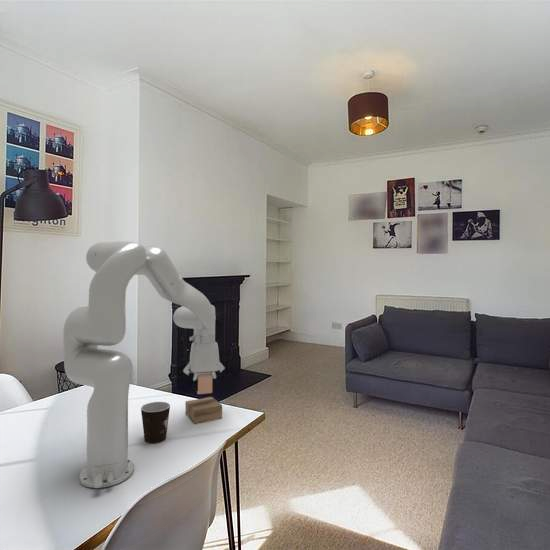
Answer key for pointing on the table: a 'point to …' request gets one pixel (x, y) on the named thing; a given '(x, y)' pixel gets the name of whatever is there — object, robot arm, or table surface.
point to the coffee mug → (155, 421)
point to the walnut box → (203, 410)
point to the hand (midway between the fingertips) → (204, 389)
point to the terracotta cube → (204, 383)
